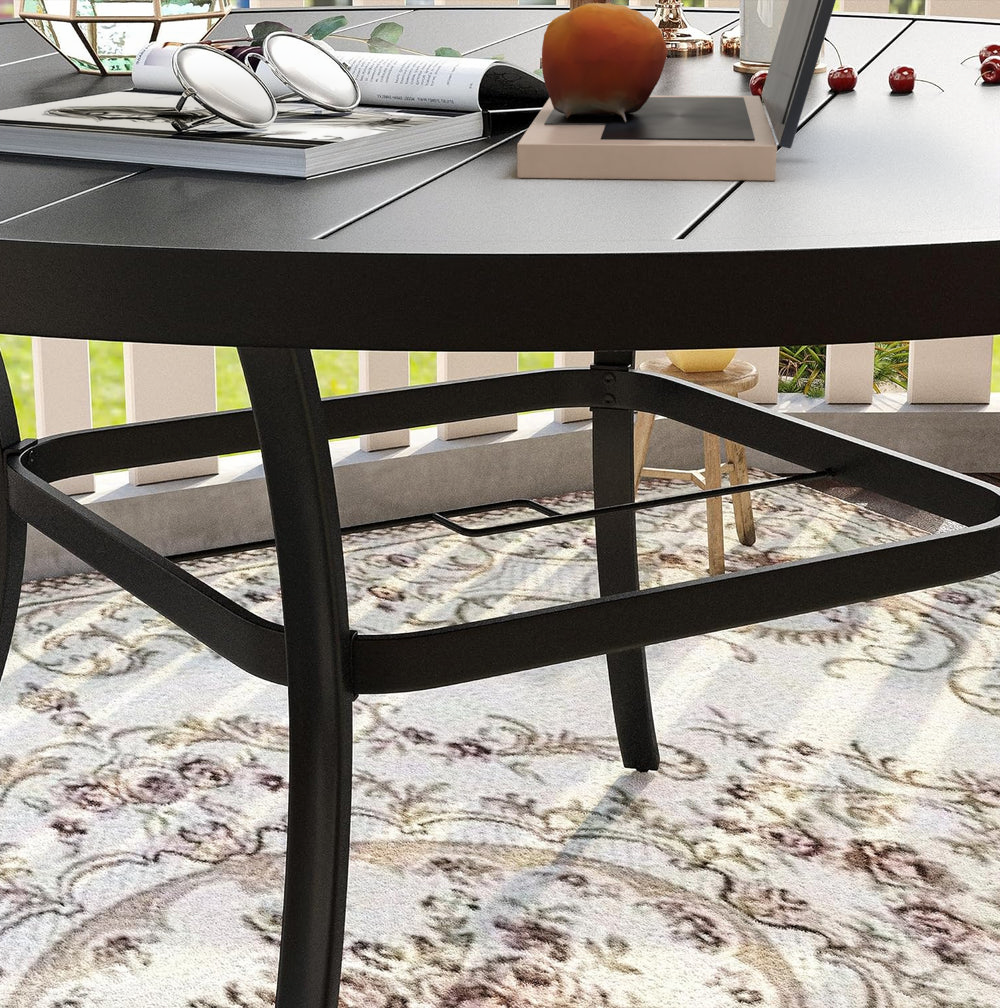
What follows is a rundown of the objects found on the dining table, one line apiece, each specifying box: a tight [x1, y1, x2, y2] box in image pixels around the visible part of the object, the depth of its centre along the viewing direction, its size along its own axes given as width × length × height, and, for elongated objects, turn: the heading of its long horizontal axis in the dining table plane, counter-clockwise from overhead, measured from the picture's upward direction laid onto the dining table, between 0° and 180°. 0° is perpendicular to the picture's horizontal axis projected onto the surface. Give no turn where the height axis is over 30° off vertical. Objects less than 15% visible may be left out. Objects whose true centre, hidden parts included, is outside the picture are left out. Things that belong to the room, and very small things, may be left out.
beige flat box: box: [516, 94, 778, 182], centre depth 91 cm, size 15×22×2 cm
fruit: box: [541, 2, 668, 123], centre depth 90 cm, size 8×8×8 cm
